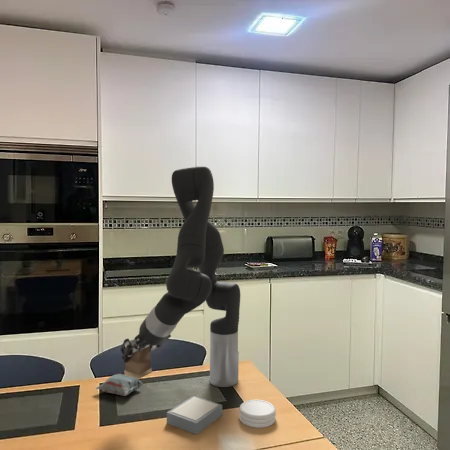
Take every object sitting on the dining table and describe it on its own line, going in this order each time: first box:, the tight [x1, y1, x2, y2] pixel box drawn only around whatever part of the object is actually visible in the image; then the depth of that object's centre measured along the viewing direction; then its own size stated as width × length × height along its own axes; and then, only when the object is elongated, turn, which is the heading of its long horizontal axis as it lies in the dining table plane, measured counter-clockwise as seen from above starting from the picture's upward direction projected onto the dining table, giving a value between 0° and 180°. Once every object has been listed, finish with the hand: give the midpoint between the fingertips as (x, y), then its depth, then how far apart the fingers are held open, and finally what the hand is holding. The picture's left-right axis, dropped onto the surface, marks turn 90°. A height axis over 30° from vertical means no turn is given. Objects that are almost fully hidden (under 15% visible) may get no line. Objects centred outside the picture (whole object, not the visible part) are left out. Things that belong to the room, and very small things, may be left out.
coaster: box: [238, 399, 277, 429], centre depth 117 cm, size 10×10×4 cm
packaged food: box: [95, 373, 144, 397], centre depth 133 cm, size 9×12×5 cm
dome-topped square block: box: [123, 346, 152, 380], centre depth 117 cm, size 5×5×9 cm
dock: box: [166, 395, 223, 435], centre depth 116 cm, size 12×10×3 cm
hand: (134, 356), depth 118 cm, fingers closed on dome-topped square block, 5 cm apart
